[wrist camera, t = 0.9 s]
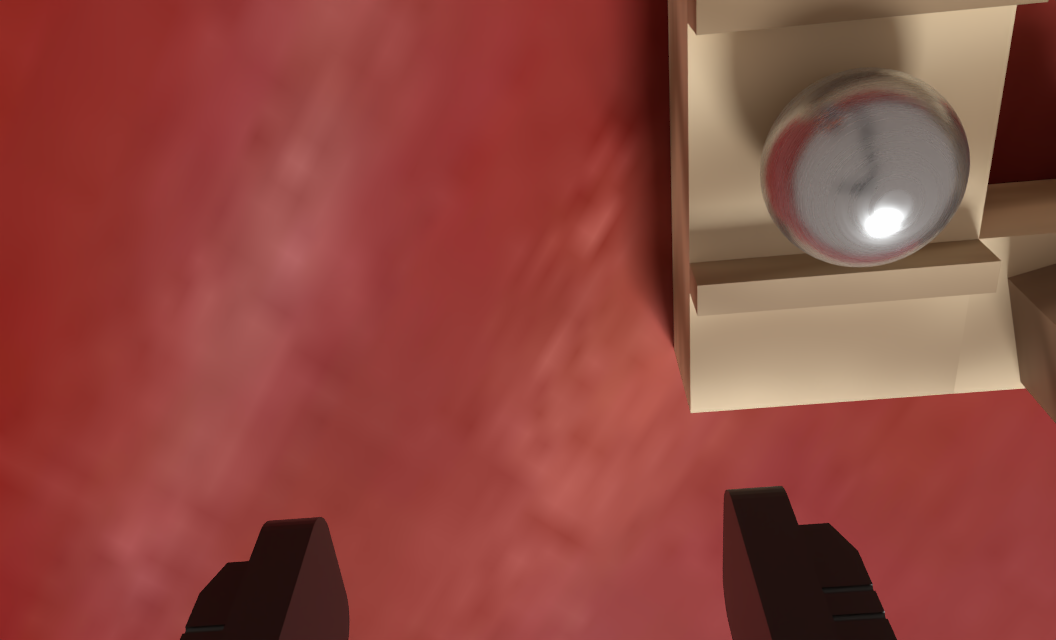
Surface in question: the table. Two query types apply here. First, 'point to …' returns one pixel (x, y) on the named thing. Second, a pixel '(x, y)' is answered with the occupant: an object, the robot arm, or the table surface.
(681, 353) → the wooden stepped tray
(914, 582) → the table surface
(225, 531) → the table surface
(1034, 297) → the walnut cube
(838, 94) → the ball
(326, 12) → the table surface
